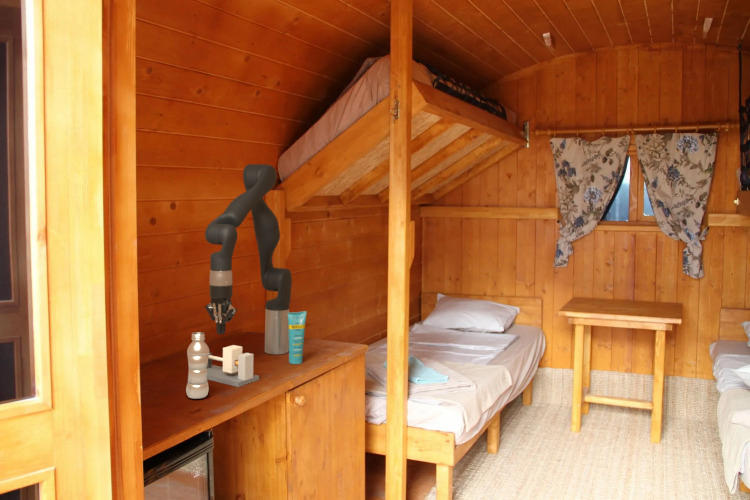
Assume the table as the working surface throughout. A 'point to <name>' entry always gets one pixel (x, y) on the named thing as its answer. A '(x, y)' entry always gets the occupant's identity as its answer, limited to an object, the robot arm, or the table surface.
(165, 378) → the table surface
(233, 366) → the sleeve
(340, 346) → the table surface
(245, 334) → the table surface
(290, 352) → the tube
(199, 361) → the plastic bottle
